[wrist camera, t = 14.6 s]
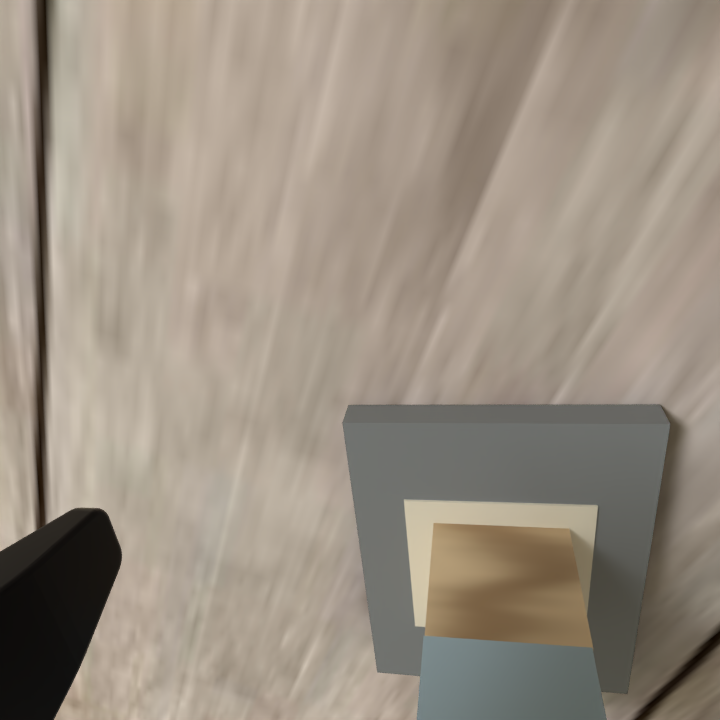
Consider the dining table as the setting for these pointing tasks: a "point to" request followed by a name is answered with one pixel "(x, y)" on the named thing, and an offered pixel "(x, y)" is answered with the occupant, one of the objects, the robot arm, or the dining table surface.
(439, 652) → the blue block
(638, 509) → the board
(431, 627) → the oak block
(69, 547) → the robot arm
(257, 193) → the dining table surface
